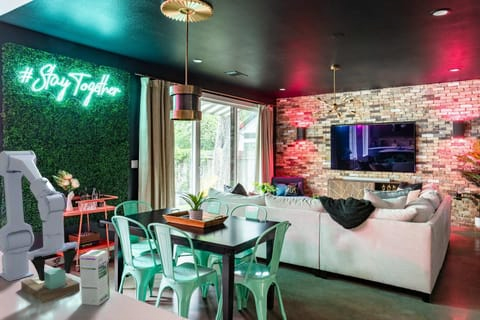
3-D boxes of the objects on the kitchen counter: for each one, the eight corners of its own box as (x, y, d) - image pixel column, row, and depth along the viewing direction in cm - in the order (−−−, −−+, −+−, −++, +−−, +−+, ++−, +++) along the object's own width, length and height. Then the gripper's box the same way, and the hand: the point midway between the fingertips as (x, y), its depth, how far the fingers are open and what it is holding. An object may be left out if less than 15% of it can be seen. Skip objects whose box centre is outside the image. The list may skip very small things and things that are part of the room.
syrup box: (99, 306, 102) (97, 256, 101) (80, 304, 103) (79, 254, 102) (110, 297, 107) (109, 250, 107) (92, 295, 109) (91, 248, 108)
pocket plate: (21, 288, 114) (21, 280, 114) (56, 278, 122) (56, 270, 122) (42, 303, 104) (42, 294, 103) (79, 290, 112) (79, 282, 112)
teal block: (44, 293, 110) (43, 271, 110) (59, 288, 114) (58, 267, 113) (51, 297, 108) (50, 274, 107) (66, 292, 111) (65, 270, 111)
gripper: (33, 240, 102) (35, 287, 102) (82, 230, 113) (84, 272, 113) (23, 236, 106) (25, 281, 107) (72, 227, 117) (73, 267, 118)
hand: (54, 276), depth 110 cm, fingers open, 7 cm apart
